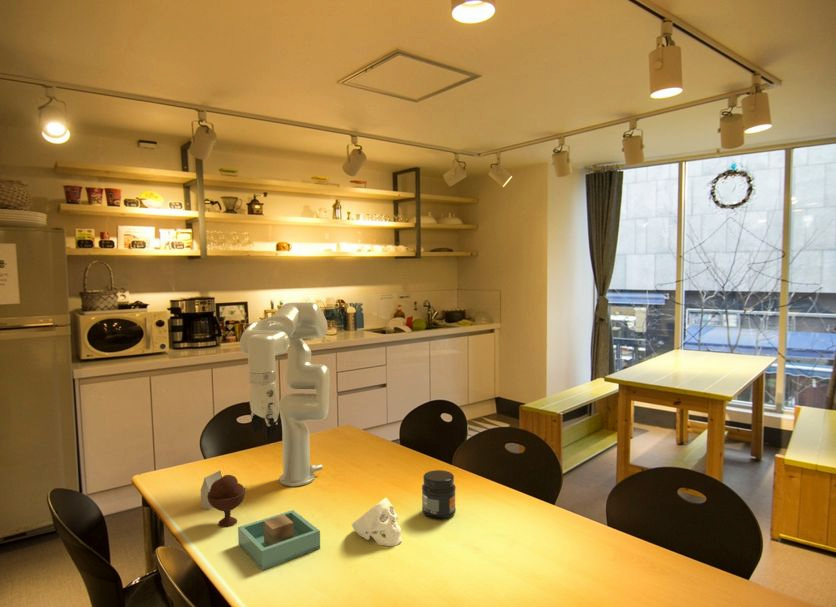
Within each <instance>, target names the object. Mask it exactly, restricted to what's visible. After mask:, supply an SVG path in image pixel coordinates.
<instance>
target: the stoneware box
mask: <svg viewBox="0 0 836 607" xmlns="http://www.w3.org/2000/svg"><path fill="white" fill-rule="evenodd" d="M281 515H285V516H286V517H287V518H289V519H290V520H291V521H292V522H293V524H294V538H291V539H288V540H285V541H282V542H279V543H277V544H274V545H271V546H267V545H266V544H265V543H264V521H265V520H269V519H272V518H275V517H278V516H281ZM237 528H238V529H237V534H238V535H237V538H238V542H237V543H238V546H239V547H240V548H241V549H242V550H243V551H244V552H245V554H246V555H247V556H248V555H249V556H250V559H251V560H252V561H253V562H254V563H255V564H256V566H257V567H259V568H260V570H261V571H264V570H267V569H269V568H273V567H275V566H278V565H280V564H284V563H286V562H288V561H292V560H294V559H296V558H300V557H302V556H305V555H307V554H310V553H312V552H315V551H318V550H320V549H321V531H320V529H318V527H315V526H314V525H313V524H312V523H310V522H309V521H308V520H306V519H305V517H302V516H301V515H300V514H299V513H297V512H296V511H295V510H294V509H293V510H289V511H285V512H282V513H279V514H276V515H272V516H270V517H266V518H263V519H261V520H260V519H259V520H256V521H253V522H250V523H248V524H247V523H246V524H244V525H241V526H238V527H237ZM249 556H248V557H249Z"/></svg>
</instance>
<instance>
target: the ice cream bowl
mask: <svg viewBox="0 0 836 607" xmlns="http://www.w3.org/2000/svg"><path fill="white" fill-rule="evenodd" d="M246 490H247V489H246V487H244V485H243V484H241V483H239V481H238V479H237V478H236V476H234V475H232V474H225V475H222V478H220V479H218V480H216V481H215V482H214V483H213V484H212V486H211V489H210V492H208V497H207V498H208V502H209V503H210V505H211V506H212V507H214V508H213V509H216V510H218V511H220V512H223V513H224V517H223V518H222V519H220V520H219V521H218V524H217V525H218V527H220V528H230V527H234V526H235V525H236V524H238V519H237V518H235V517H233V516H231V512H232V511H233V510H234V509H236V508H237V507H239V506H240V505H241V504H242V503H243V502H244V499H245V496H246Z"/></svg>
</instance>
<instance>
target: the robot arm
mask: <svg viewBox="0 0 836 607" xmlns="http://www.w3.org/2000/svg"><path fill="white" fill-rule="evenodd" d="M328 328H329V326H328V320H327V319H326V317H325V314H324V313H323V310H322V309H321V308H320V306H319V305H318V304H316V303H315V302H288V303H287V302H286V303H285V304H283V305H282V306H281V307H280V308H278V310H277V311H276V312H275V314H274V315H272V316H268V317H267V318H264V319H260V320H258V321H255V322H253V323H251V324H249V325H248V326H247V327H246V328H245V329H244V331H243V332H242V334H241V336H240V340H239V348H240V351H242V353H243V354H245V355H247V361H248V362H247V363H248V366H247V367H248V384H250V386H249V388H250V389H249V402H248V403H249V406H250V408H249V409H250V410H249V411H250V412H251V413H250V417H251V431H252V432H257V431H262V430H264V428H263V427H264V426H263V424H264V423H263V419H264V421H265V424H266V425H265V439H266V440H267V441H271V440H274V439H277V438H278V421H279V416H280V420H281V429H282V430H281V431H282V432H281V433H282V437H281V438H282V474H281V475H280V476H279V478H278V483H279V484H281V485H282V486H286V487H302V486H305V485H308V484H311V483H312V482H313V481H314V480H315V472H317V471H323V465H322V464H318V465H317V464H316V463H315V464H311V460H310V459H311V453H310V452H311V450H310V449H311V445H310V430H309V428H308V426H307V424H306V422H305V421H323V420H325V419H326V418H327V417H328V414H329V408H330V390H331V373H330V369H329V367H328V366H327V365H325V364H321V363H312V362H311V361H312V351H311V348H310V347H309V346H308V344H307V342H306V341H304V339H305V340H306V339H308V340H309V339H311V340H312V339H315V340H316V339H317V340H318V339H323V338H324V337H326V335H327V333H328ZM286 352H287V362H286V363H287V364H286V375H285V383H286V386H287V388H288V389H289V390H292V391H293V390H294V391H315V392H316V393H303V392H301V393H288V394H285V395H283V396H282V397H281V398H280V400H279V395H278V394H279V393H278V389H277V383H276V382H277V379H276V378H277V374H276V373H277V371H276V369H277V368H276V356H282V355H283V354H285V353H286Z"/></svg>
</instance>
